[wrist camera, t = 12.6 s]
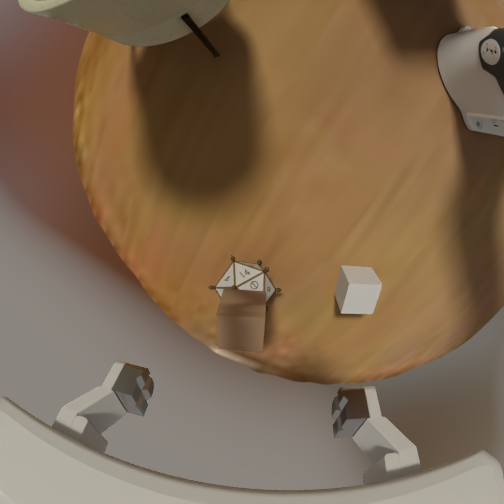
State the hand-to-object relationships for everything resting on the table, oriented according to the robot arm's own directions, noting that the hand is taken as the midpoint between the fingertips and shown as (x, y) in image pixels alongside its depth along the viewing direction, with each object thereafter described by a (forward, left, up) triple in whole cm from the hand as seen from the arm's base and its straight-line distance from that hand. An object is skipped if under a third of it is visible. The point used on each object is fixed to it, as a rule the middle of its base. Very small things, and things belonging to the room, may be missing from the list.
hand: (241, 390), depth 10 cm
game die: (+1, +11, -28) cm, 30 cm away
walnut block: (+1, +11, -20) cm, 23 cm away
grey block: (-15, +11, -28) cm, 33 cm away
